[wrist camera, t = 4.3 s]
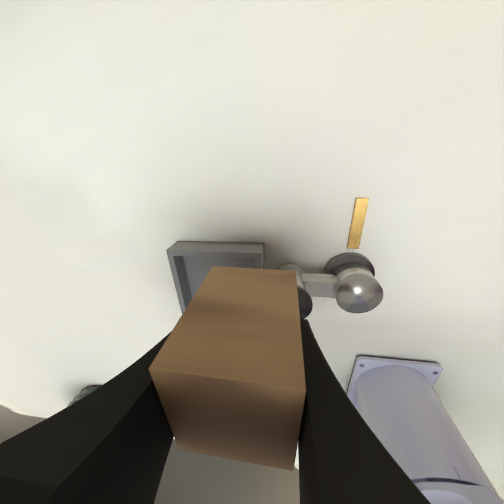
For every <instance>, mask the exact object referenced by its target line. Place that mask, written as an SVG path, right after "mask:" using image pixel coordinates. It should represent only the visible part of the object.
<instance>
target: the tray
mask: <svg viewBox="0 0 504 504" xmlns="http://www.w3.org/2000/svg"><path fill="white" fill-rule="evenodd" d="M166 251H167V255H168V259H169V263H170V267H171V271H172V275H173V279H174V283H175V287H176V291H177V295H178V299H179V303H180V307H181V311H182V314H183V313H184V311H185V310H186V308H187V306H188V305H189V303H190V302H191V300H192V298H193V297H194V295H195V294H196V292H197V290H198V289H199V287H200V286H201V284H202V283H203V281H204V279H205V278H206V276H207V275H208V273H209V271H210V270H211V268H212V267H213V266H219V267H237V268H255V269H264V243H250V242H201V241H177V242H176V243H174V244H173V245H172V246H171V247H170V248H169V249H167V250H166Z"/></svg>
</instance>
